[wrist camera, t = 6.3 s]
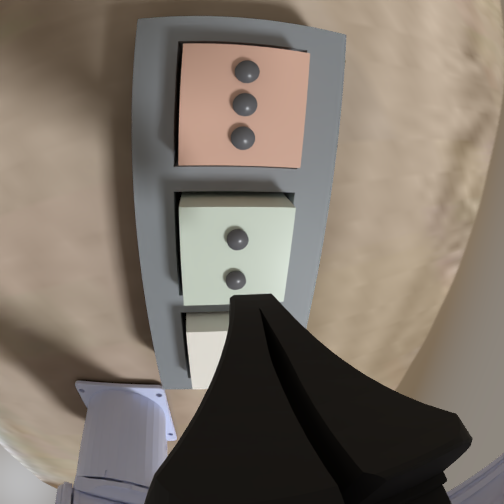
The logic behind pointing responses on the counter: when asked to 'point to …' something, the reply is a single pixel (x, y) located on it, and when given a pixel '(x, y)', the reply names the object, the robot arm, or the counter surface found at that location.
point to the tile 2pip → (234, 244)
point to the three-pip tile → (242, 105)
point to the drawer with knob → (205, 344)
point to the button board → (223, 166)
